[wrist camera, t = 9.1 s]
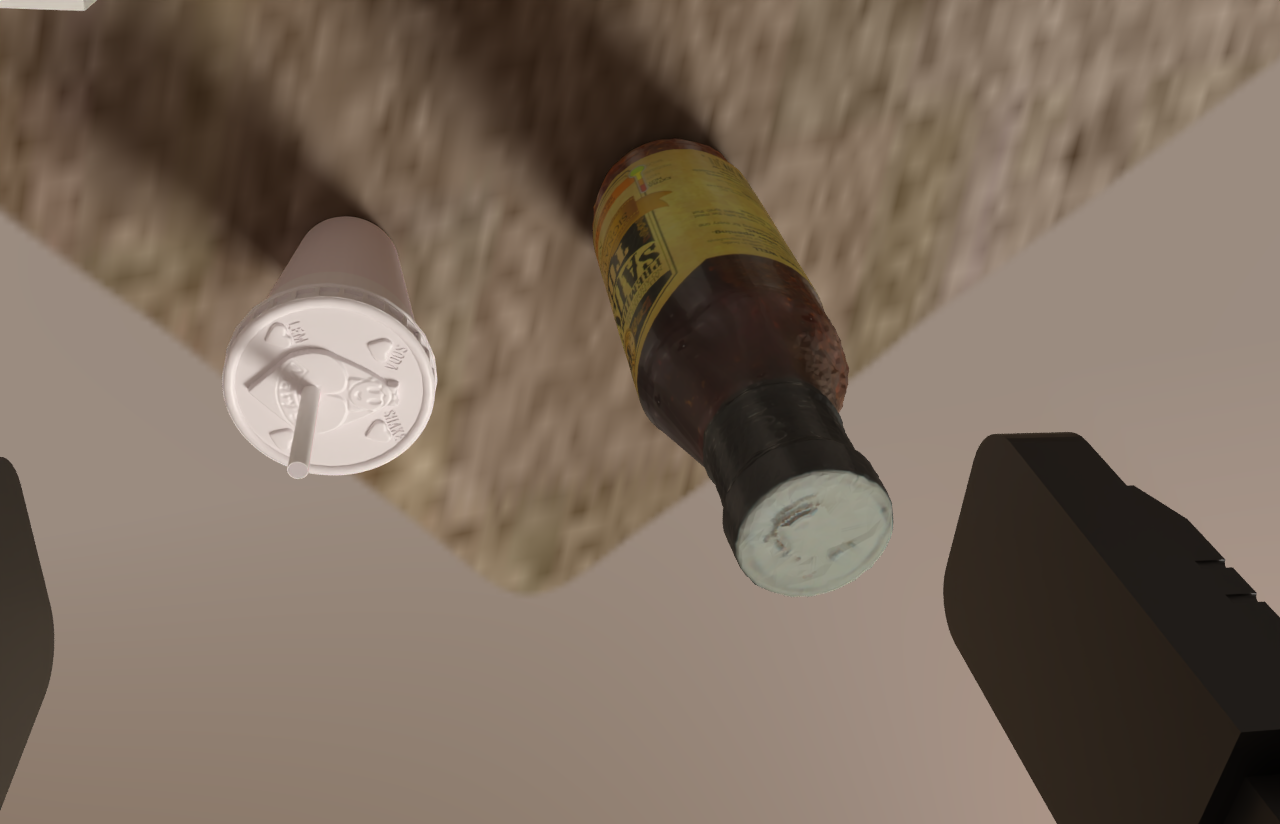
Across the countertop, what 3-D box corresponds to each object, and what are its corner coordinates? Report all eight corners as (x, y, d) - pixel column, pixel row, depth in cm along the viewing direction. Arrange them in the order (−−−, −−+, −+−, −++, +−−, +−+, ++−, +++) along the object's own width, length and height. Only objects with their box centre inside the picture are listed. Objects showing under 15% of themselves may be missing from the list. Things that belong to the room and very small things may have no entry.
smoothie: (255, 174, 41) (185, 362, 29) (438, 186, 42) (443, 371, 30) (262, 335, 44) (202, 563, 32) (432, 342, 46) (434, 564, 34)
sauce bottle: (579, 140, 42) (679, 424, 25) (746, 122, 43) (951, 386, 26) (594, 301, 46) (690, 645, 29) (748, 282, 46) (930, 607, 30)
